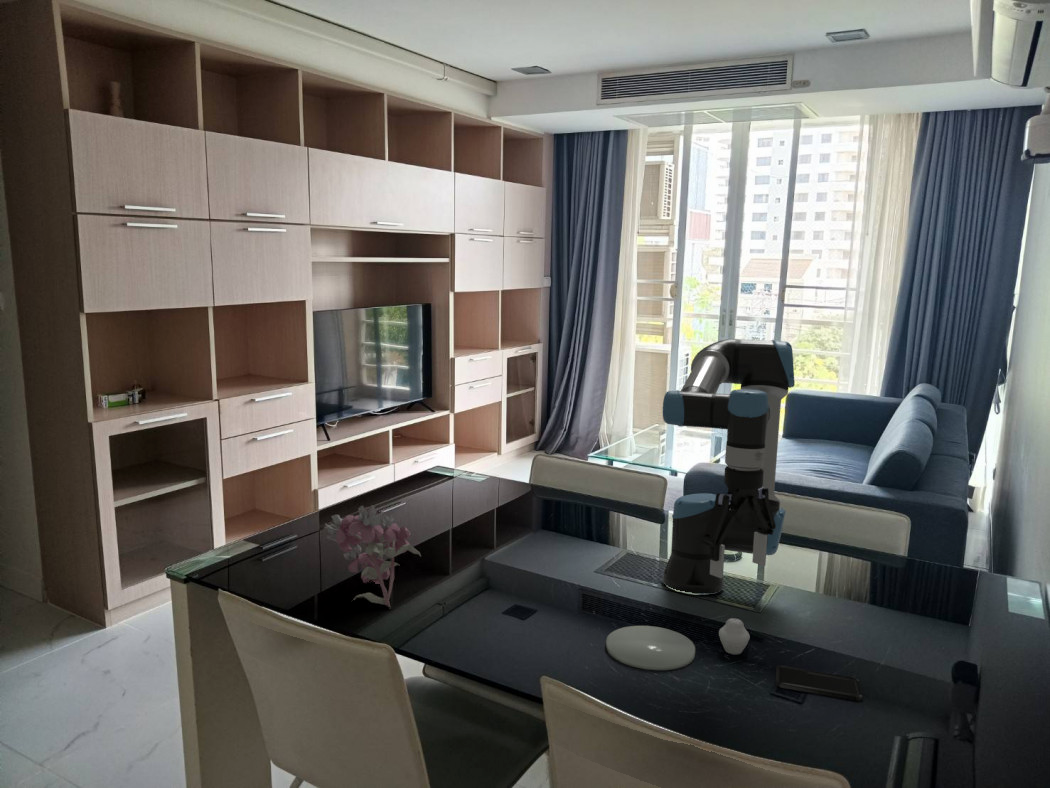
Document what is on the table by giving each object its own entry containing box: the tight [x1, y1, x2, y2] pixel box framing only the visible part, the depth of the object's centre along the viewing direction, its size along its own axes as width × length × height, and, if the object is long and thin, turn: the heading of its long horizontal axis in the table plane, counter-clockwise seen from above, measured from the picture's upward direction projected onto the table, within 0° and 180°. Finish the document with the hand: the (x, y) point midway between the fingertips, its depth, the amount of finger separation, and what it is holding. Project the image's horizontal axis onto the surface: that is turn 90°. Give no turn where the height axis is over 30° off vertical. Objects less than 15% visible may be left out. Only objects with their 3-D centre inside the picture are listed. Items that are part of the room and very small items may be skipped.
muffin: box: [718, 617, 751, 655], centre depth 156 cm, size 6×6×7 cm
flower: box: [323, 504, 422, 609], centre depth 181 cm, size 20×22×25 cm
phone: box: [775, 665, 863, 702], centre depth 144 cm, size 8×1×15 cm
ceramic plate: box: [605, 625, 696, 671], centre depth 156 cm, size 18×18×1 cm
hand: (738, 569), depth 155 cm, fingers open, 13 cm apart
